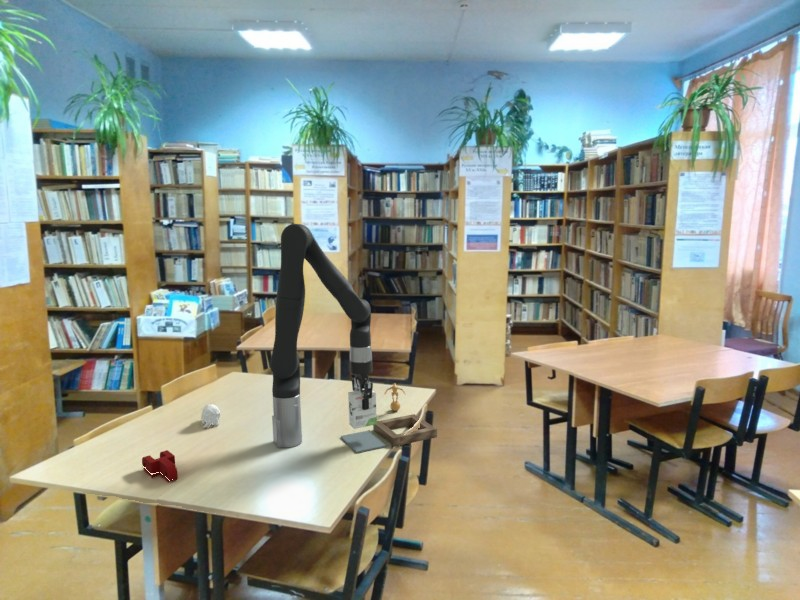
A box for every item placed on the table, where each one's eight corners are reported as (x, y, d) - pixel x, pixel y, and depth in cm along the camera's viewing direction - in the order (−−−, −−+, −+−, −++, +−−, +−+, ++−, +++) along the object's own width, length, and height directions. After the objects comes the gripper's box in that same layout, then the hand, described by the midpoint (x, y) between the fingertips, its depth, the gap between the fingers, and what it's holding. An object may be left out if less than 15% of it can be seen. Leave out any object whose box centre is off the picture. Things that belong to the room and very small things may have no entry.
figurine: (405, 409, 219) (405, 380, 218) (405, 414, 214) (405, 384, 212) (385, 409, 220) (384, 380, 218) (384, 414, 214) (383, 384, 212)
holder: (393, 446, 183) (393, 438, 182) (373, 429, 198) (373, 422, 197) (437, 437, 190) (437, 429, 190) (414, 421, 205) (414, 414, 205)
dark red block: (142, 470, 168) (141, 455, 168) (166, 463, 173) (164, 448, 173) (161, 487, 157) (160, 471, 156) (186, 479, 162) (185, 463, 161)
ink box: (371, 420, 190) (370, 387, 189) (377, 424, 186) (376, 391, 184) (348, 424, 187) (347, 391, 185) (353, 429, 182) (352, 395, 180)
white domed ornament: (202, 407, 199) (196, 401, 209) (204, 430, 199) (197, 423, 209) (220, 404, 202) (212, 398, 212) (222, 426, 203) (214, 420, 213)
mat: (356, 453, 178) (356, 451, 178) (340, 437, 191) (340, 435, 191) (386, 446, 183) (386, 445, 183) (369, 431, 196) (369, 430, 196)
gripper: (342, 355, 188) (344, 402, 190) (358, 364, 175) (360, 415, 177) (363, 352, 191) (364, 399, 193) (379, 361, 178) (381, 411, 181)
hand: (362, 406), depth 185 cm, fingers closed on ink box, 5 cm apart
